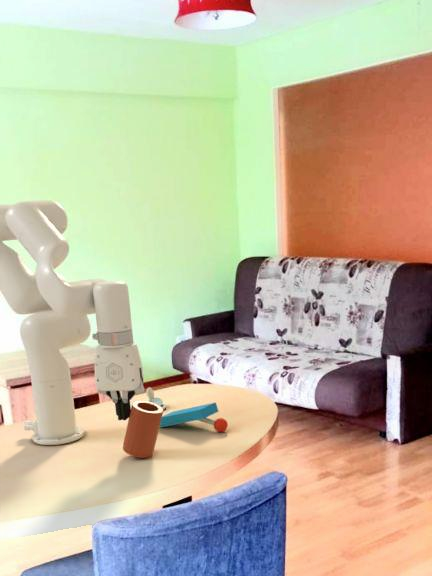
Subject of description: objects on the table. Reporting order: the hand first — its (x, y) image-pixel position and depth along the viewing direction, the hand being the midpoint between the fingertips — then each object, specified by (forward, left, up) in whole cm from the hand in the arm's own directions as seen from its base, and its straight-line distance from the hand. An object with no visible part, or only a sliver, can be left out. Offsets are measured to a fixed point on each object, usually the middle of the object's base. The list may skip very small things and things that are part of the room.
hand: (124, 418), depth 166 cm
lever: (+10, +21, -9) cm, 25 cm away
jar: (+2, 0, -8) cm, 8 cm away
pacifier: (-6, +37, -9) cm, 39 cm away
